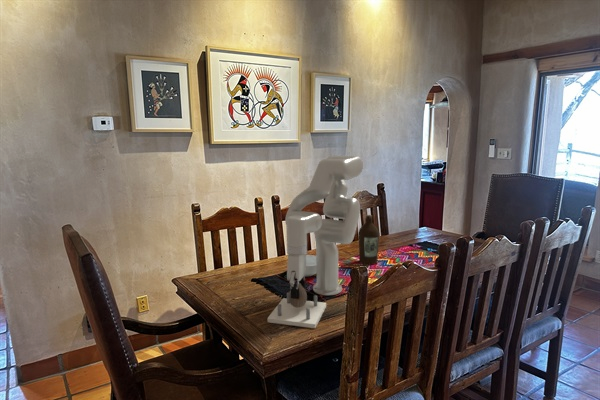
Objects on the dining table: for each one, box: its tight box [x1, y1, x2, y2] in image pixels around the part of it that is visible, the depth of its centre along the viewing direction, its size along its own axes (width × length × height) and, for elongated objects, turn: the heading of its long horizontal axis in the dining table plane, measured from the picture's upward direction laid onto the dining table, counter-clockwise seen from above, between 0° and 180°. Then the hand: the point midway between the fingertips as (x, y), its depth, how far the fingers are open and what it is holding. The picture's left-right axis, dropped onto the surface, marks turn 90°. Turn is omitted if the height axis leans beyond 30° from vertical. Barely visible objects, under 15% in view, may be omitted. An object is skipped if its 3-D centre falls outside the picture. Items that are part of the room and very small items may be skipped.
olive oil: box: [358, 214, 380, 266], centre depth 205 cm, size 11×11×25 cm
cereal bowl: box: [304, 254, 317, 277], centre depth 191 cm, size 17×17×7 cm
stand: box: [267, 291, 327, 329], centre depth 150 cm, size 18×18×6 cm
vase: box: [288, 282, 308, 308], centre depth 149 cm, size 7×7×9 cm
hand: (297, 293), depth 149 cm, fingers closed on vase, 6 cm apart
